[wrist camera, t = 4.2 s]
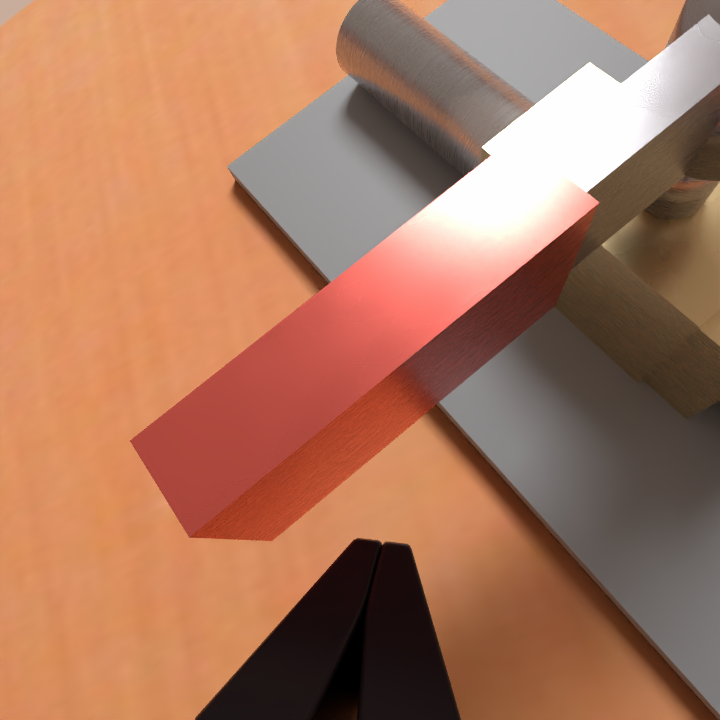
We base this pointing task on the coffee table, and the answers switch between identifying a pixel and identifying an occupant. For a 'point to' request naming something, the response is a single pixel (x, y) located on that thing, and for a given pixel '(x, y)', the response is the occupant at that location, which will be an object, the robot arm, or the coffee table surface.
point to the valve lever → (432, 301)
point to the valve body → (535, 128)
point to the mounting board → (528, 341)
